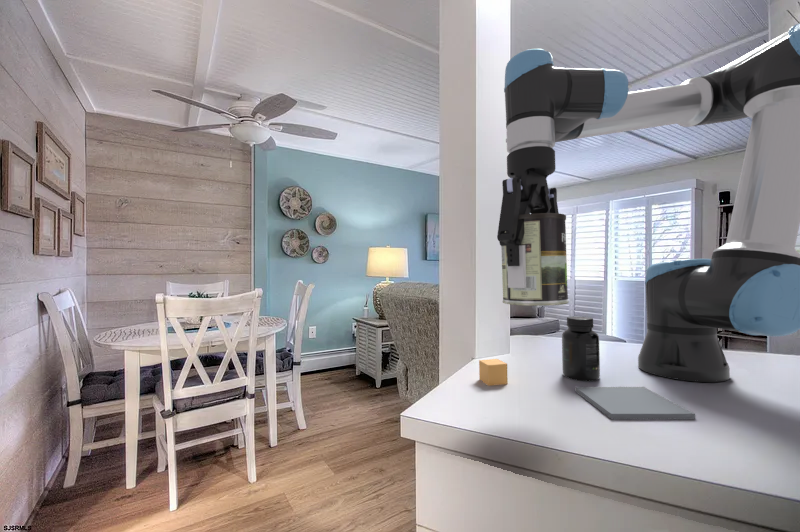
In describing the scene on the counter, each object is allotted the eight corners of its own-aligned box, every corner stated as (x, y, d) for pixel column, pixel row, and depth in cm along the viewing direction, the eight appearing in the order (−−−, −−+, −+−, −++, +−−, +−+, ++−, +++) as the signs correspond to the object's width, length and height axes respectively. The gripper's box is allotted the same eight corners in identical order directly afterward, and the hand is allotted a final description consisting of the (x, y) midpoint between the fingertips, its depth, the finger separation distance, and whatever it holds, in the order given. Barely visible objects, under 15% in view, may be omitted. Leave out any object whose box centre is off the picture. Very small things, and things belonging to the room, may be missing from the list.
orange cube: (497, 378, 74) (497, 358, 74) (507, 384, 71) (507, 363, 71) (479, 380, 74) (479, 360, 74) (488, 386, 70) (488, 365, 70)
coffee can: (560, 299, 64) (558, 219, 64) (576, 306, 54) (573, 211, 54) (499, 300, 66) (497, 222, 66) (504, 306, 56) (501, 214, 56)
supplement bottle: (597, 373, 76) (596, 316, 76) (602, 383, 70) (600, 320, 70) (562, 370, 79) (561, 315, 79) (563, 379, 73) (562, 319, 73)
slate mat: (643, 391, 65) (643, 386, 65) (695, 419, 53) (695, 413, 53) (575, 391, 66) (575, 387, 66) (611, 419, 54) (611, 413, 54)
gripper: (540, 167, 71) (544, 282, 71) (470, 143, 55) (474, 289, 55) (581, 158, 65) (584, 283, 65) (515, 128, 50) (519, 290, 50)
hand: (534, 285), depth 60 cm, fingers closed on coffee can, 10 cm apart
